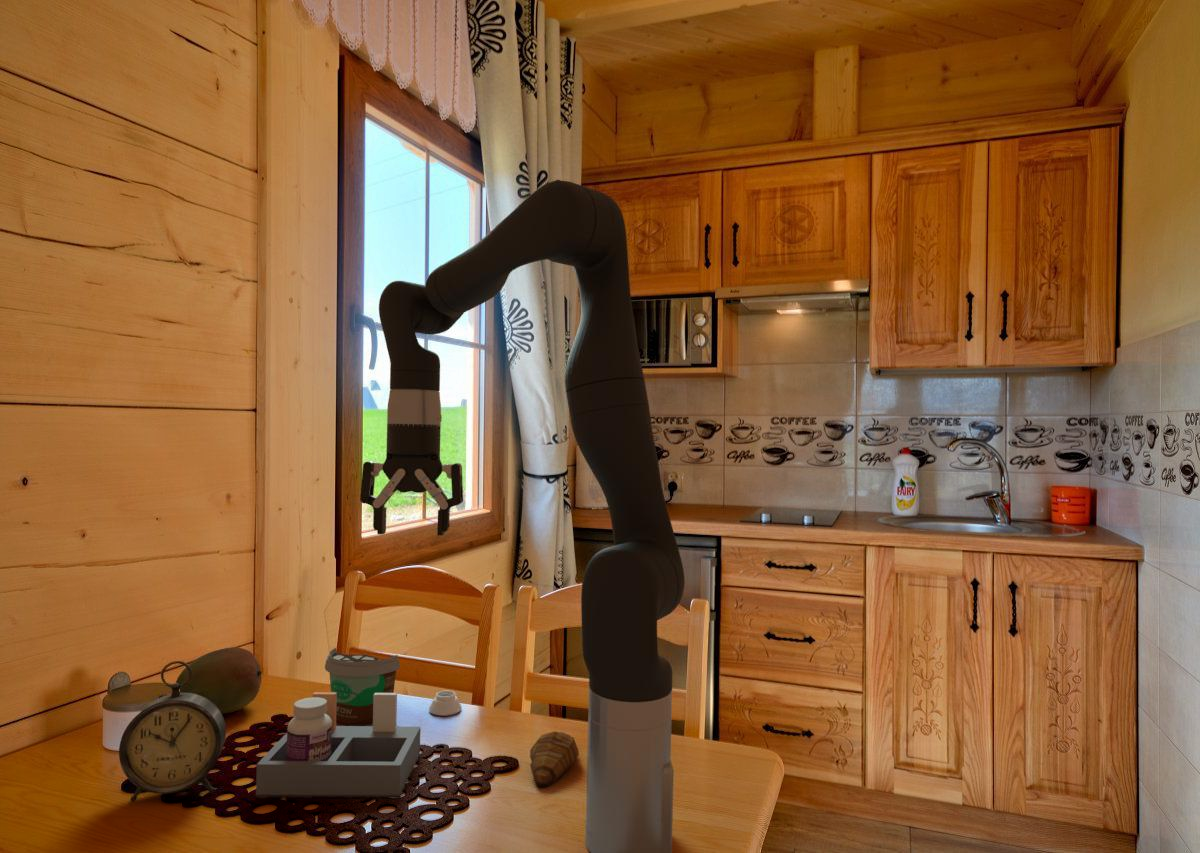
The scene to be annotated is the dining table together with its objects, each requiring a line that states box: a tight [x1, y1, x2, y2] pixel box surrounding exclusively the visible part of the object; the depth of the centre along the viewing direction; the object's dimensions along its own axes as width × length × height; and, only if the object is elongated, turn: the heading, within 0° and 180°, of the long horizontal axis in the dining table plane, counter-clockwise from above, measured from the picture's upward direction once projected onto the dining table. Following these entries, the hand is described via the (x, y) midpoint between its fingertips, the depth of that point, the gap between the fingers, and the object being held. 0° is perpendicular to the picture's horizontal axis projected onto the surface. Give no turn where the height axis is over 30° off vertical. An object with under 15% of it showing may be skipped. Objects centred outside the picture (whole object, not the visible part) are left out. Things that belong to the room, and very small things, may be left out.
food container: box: [324, 647, 401, 726], centre depth 116 cm, size 12×6×10 cm, turn 73°
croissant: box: [529, 731, 580, 788], centre depth 102 cm, size 14×7×5 cm, turn 170°
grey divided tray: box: [255, 691, 421, 799], centre depth 98 cm, size 17×12×9 cm
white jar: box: [428, 689, 462, 717], centre depth 121 cm, size 5×3×5 cm
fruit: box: [175, 646, 263, 715], centre depth 118 cm, size 12×12×10 cm
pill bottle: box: [286, 696, 332, 761], centre depth 96 cm, size 5×5×10 cm
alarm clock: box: [118, 660, 227, 802], centre depth 92 cm, size 11×5×16 cm, turn 105°
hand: (411, 534), depth 108 cm, fingers open, 8 cm apart
